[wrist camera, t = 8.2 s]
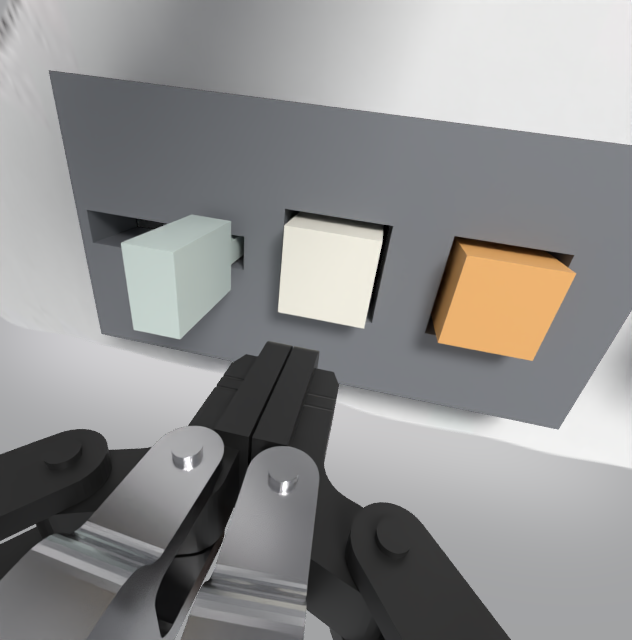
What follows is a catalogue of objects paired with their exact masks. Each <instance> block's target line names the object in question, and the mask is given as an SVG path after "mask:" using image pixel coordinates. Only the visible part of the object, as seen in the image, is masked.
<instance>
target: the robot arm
mask: <svg viewBox="0 0 632 640" xmlns="http://www.w3.org/2000/svg"><path fill="white" fill-rule="evenodd" d="M318 361H319V351H317V350H312V349H307V348H302V347H297V346H294V347H293V346H292V345H287V344H282V343H277V342H272V341H267V342H266V344H265V346H264V347H263V349H262V351H261V352H260V354H259V356H253V355H248V354H246V355H244V356H242V357H241V358H239V359H238V360H236V361H234V362H233V363H232V364H231V365H230V367H229V368H228V369H227V371H226V372H225V374H224V376H223V377H222V378H221V380H220V381H219V382H218V384H217V387H215V388H214V389H213V391H212V392H211V394H210V395H209V397H208V398H207V399H206V401H205V402H204V404H203V405H202V407H201V408H200V409H199V411H198V412H197V414H196V415H195V417H194V418H193V420H192V421H191V422H190V424H189V425H188V426H186V427H181V428H178V429H175V430H173V431H171V432H169V433H167V434H165V435H164V436H163V437H161V438H160V439H159V440H158V441H157V442H156V443H155V444H154V445H153V447H150V448H141V449H121V450H108V446H107V442H106V439H105V438H104V437H103V436H102V435H101V434H100V433H98V432H96V431H92V430H86V429H76V430H69V431H65V432H61V433H59V434H56V435H53V436H50V437H47V438H44V439H42V440H39V441H36V442H33V443H31V444H28V445H25V446H22V447H20V448H17V449H14V450H11V451H9V452H6V453H4V454H0V541H1V540H3V539H5V538H7V537H9V536H11V535H13V534H16V533H17V532H19V531H22V530H24V529H26V528H28V527H30V526H32V525H34V524H36V526H37V527H35V528H33V529H31V530H29V531H27V532H25V533H23V534H21V535H19V536H17V537H15V538H13V539H10V540H8V541H6V542H4V543H2V544H0V640H175V638H176V636H177V634H178V632H179V630H180V627H181V625H182V623H183V621H184V619H185V617H186V615H187V613H188V611H189V609H190V607H191V605H192V603H193V601H194V599H195V597H196V595H197V593H198V591H199V593H198V595H197V597H196V599H195V602H194V604H193V607H192V609H191V612H190V615H189V617H188V621H187V623H186V626H185V629H184V632H183V635H182V637H181V640H303V639H304V629H305V619H306V609H307V610H308V611H309V612H310V613H312V614H313V615H314V616H316V617H317V618H318V619H320V620H321V621H322V622H323V623H325V624H326V625H327V626H329V627H330V632H331V635H332V638H333V640H511V639H510V638H509V637H508V636H507V634H506V633H505V632H504V630H503V629H502V628H501V626H500V625H499V624H498V622H497V621H496V620H495V618H494V617H493V616H492V615H491V613H490V612H489V611H488V609H487V608H486V607H485V605H484V604H483V603H482V601H481V600H480V599H479V597H478V596H477V595H476V594H475V592H474V591H473V590H472V588H471V587H470V586H469V584H468V583H467V582H466V580H465V579H464V578H463V577H462V575H461V574H460V573H459V571H458V570H457V569H456V567H455V566H454V565H453V563H452V562H451V561H450V560H449V558H448V557H447V556H446V554H445V553H444V552H443V550H442V549H441V548H440V547H439V545H438V544H437V543H436V541H435V540H434V539H433V537H432V536H431V535H430V533H429V532H428V531H427V530H426V528H425V527H424V525H423V524H422V523H421V522H420V521H419V520H418V519H417V518H416V517H415V516H414V515H413V514H412V513H410V512H409V511H407V510H406V509H404V508H402V507H400V506H397V505H395V504H391V503H381V502H380V503H373V504H371V505H368V506H366V507H364V508H363V507H361V506H360V505H358V504H356V503H355V502H353V501H351V500H350V499H348V498H346V497H345V496H343V495H342V494H341V493H340V492H338V491H337V490H336V489H335V488H334V486H333V485H332V484H331V482H330V481H329V479H328V477H327V475H326V472H325V469H324V460H325V455H326V450H327V445H328V440H329V435H330V430H331V425H332V420H333V414H334V408H335V404H336V398H337V393H338V387H339V384H338V381H337V379H336V376H335V374H334V372H332V371H327V370H322V369H317V368H318ZM233 508H235V509H234V511H233ZM232 511H233V514H232V517H231V521H230V523H229V527H228V529H227V533H226V535H225V539H224V542H223V538H224V533H225V527H226V525H227V522H228V520H229V518H230V515H231V513H232ZM222 542H223V545H222V547H221V551H220V553H219V556H218V559H217V562H216V565H215V568H214V571H213V573H212V576H211V578H210V579H209V580H208V581H206V582H205V583H204V584H203V585H202V583H203V581H204V579H205V577H206V575H207V573H208V571H209V569H210V567H211V565H212V563H213V561H214V559H215V556H216V555H217V553H218V550H219V548H220V546H221V544H222ZM201 585H202V587H201ZM200 587H201V589H200ZM199 589H200V590H199Z"/></svg>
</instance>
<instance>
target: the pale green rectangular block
mask: <svg viewBox="0 0 632 640" xmlns="http://www.w3.org/2000/svg"><path fill="white" fill-rule="evenodd" d="M121 248H122V255H123V262H124V268H125V275H126V282H127V289H128V295H129V302H130V309H131V315H132V322H133V329H134V330H137V331H142V332H147V333H152V334H156V335H161V336H166V337H171V338H176V339H181V338H182V337H183V336H184V335H185V334H186V333H187V332H188V331H189V330H190V329H191V328H192V327H193V326H194V325H195V324H196V323H197V322H198V321H200V320H201V319H202V318H203V317H204V316H205V315H206V314H207V313H208V312H209V311H210V310H211V309H212V308H213V307H214V306H215V305H216V304H217V303H218V302H219V301H220V300H221V299H222V298H223V297H224V296H225V295H226V294H227V293H228V292H229V291H230V290H231V264H232V263H234V262H235V261H236V260H237V259H239V258H240V257H241V256H242V255H243V254H244V237H243V236H237V235H231V221H228V220H222V219H216V218H210V217H204V216H198V215H189V216H187V217H184V218H182V219H179V220H177V221H174V222H172V223H169V224H167V225H164V226H161V227H159V228H156V229H154V230H151V231H149V232H146V233H144V234H141V235H139V236H136V237H134V238H131V239H129V240H126V241H124V242H121Z"/></svg>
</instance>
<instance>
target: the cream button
mask: <svg viewBox="0 0 632 640" xmlns="http://www.w3.org/2000/svg"><path fill="white" fill-rule="evenodd" d="M382 241H383V224H377V223H371V222H365V221H358V220H352V219H346V218H340V217H334V216H327V215H321V214H315V213H309V212H302V211H300V212H299V213H298V214H297V215H296V216H295V217H293V218H292V219H291V220H290V221H289V222H288V223H286V224H285V225H284V237H283V250H282V264H281V277H280V290H279V304H278V312H280V313H285V314H290V315H296V316H301V317H306V318H311V319H316V320H322V321H327V322H332V323H337V324H342V325H348V326H353V327H358V328H363V329H364V326H365V322H366V317H367V312H368V308H369V303H370V298H371V293H372V289H373V284H374V279H375V275H376V270H377V265H378V260H379V256H380V251H381V246H382Z"/></svg>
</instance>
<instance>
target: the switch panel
mask: <svg viewBox="0 0 632 640" xmlns="http://www.w3.org/2000/svg"><path fill="white" fill-rule="evenodd" d="M49 74H50V79H51V84H52V89H53V94H54V99H55V104H56V109H57V114H58V119H59V124H60V129H61V134H62V139H63V144H64V149H65V154H66V159H67V164H68V169H69V174H70V179H71V184H72V189H73V194H74V199H75V204H76V208H77V213H78V218H79V223H80V228H81V233H82V238H83V243H84V248H85V253H86V258H87V263H88V268H89V273H90V278H91V283H92V288H93V293H94V298H95V303H96V308H97V313H98V318H99V323H100V328H101V333H102V334H105V335H110V336H114V337H119V338H124V339H129V340H133V341H138V342H143V343H148V344H153V345H157V346H162V347H167V348H172V349H176V350H181V351H186V352H191V353H196V354H200V355H205V356H210V357H215V358H219V359H224V360H229V361H236V360H238V359H239V358H241V357H242V356H244V355H246V354H248V355H253V356H259V354H260V352H261V351H262V349H263V347H264V346H265V344H266V342H267V341H272V342H277V343H282V344H287V345H292V346H293V347H294V346H297V347H302V348H307V349H312V350H317V351H319V361H318V368H317V369H322V370H327V371H332V372H334V374H335V376H336V379H337V381H338V383H339V384H344V385H348V386H353V387H358V388H363V389H367V390H372V391H377V392H382V393H387V394H391V395H396V396H401V397H406V398H410V399H415V400H420V401H425V402H430V403H434V404H439V405H444V406H449V407H453V408H458V409H463V410H468V411H473V412H477V413H482V414H487V415H492V416H496V417H501V418H506V419H511V420H515V421H520V422H525V423H530V424H535V425H539V426H544V427H549V428H554V429H559V428H560V426H561V424H562V423H563V421H564V420H565V418H566V416H567V415H568V413H569V411H570V410H571V408H572V407H573V405H574V403H575V402H576V400H577V398H578V397H579V395H580V394H581V392H582V390H583V389H584V387H585V385H586V384H587V382H588V380H589V379H590V377H591V376H592V374H593V372H594V371H595V369H596V367H597V366H598V364H599V363H600V361H601V359H602V358H603V356H604V354H605V353H606V351H607V350H608V348H609V346H610V345H611V343H612V341H613V340H614V338H615V336H616V335H617V333H618V332H619V330H620V328H621V327H622V325H623V323H624V322H625V320H626V319H627V317H628V315H629V314H630V312H631V310H632V145H625V144H617V143H610V142H602V141H594V140H586V139H578V138H571V137H563V136H555V135H547V134H540V133H532V132H524V131H516V130H508V129H501V128H493V127H485V126H477V125H470V124H462V123H454V122H446V121H439V120H431V119H423V118H415V117H407V116H400V115H392V114H384V113H376V112H369V111H361V110H353V109H345V108H337V107H330V106H322V105H314V104H306V103H299V102H291V101H283V100H275V99H267V98H260V97H252V96H244V95H236V94H229V93H221V92H213V91H205V90H197V89H190V88H182V87H174V86H166V85H159V84H151V83H143V82H135V81H127V80H120V79H112V78H104V77H96V76H89V75H81V74H73V73H65V72H57V71H50V70H49ZM300 211H302V212H309V213H315V214H321V215H327V216H334V217H340V218H346V219H352V220H358V221H365V222H371V223H377V224H383V225H389V228H388V233H387V238H386V242H385V247H384V252H383V256H382V261H381V265H380V270H379V275H378V279H377V284H376V289H375V293H374V294H371V298H370V303H369V308H368V312H367V317H366V322H365V326H364V329H363V328H358V327H353V326H348V325H342V324H337V323H332V322H327V321H322V320H316V319H311V318H306V317H301V316H296V315H290V314H285V313H280V312H278V304H279V290H280V277H281V264H282V250H283V237H284V225H285V224H286V223H288V222H289V221H290V220H291V219H292V218H293V217H295V216H296V215H297V214H298V213H299V212H300ZM189 215H198V216H204V217H210V218H216V219H222V220H228V221H231V235H237V236H243V237H244V254H243V255H242V256H241V257H240V258H239V259H237V260H236V261H235V262H234V263H232V264H231V290H230V291H229V292H228V293H227V294H226V295H225V296H224V297H223V298H222V299H221V300H220V301H219V302H218V303H217V304H216V305H215V306H214V307H213V308H212V309H211V310H210V311H209V312H208V313H207V314H206V315H205V316H204V317H203V318H202V319H201V320H200V321H198V322H197V323H196V324H195V325H194V326H193V327H192V328H191V329H190V330H189V331H188V332H187V333H186V334H185V335H184V336H183V337H182V338H181V339H176V338H171V337H166V336H161V335H156V334H152V333H147V332H142V331H137V330H134V329H133V322H132V315H131V309H130V302H129V295H128V289H127V282H126V275H125V268H124V262H123V255H122V248H121V242H124V241H126V240H129V239H131V238H134V237H136V236H139V235H141V234H144V233H146V232H149V231H151V230H154V229H148V228H142V227H137V221H136V218H138V219H144V220H149V221H155V222H161V223H167V224H169V223H172V222H174V221H177V220H179V219H182V218H184V217H187V216H189ZM454 236H458V237H464V238H470V239H477V240H483V241H489V242H495V243H501V244H508V245H514V246H520V247H526V248H533V249H539V250H545V251H546V252H547V253H549V254H550V255H552V256H553V257H554V258H556V259H557V260H558V261H560V262H561V263H563V264H564V265H565V266H567V267H568V268H569V269H571V270H572V271H573V272H575V273H576V275H575V277H574V279H573V281H572V283H571V285H570V287H569V289H568V291H567V293H566V295H565V297H564V299H563V301H562V303H561V305H560V307H559V309H558V311H557V313H556V315H555V317H554V319H553V321H552V323H551V325H550V327H549V329H548V331H547V333H546V335H545V337H544V339H543V341H542V343H541V345H540V347H539V349H538V351H537V353H536V355H535V357H534V359H533V361H530V360H525V359H520V358H514V357H509V356H504V355H499V354H494V353H488V352H483V351H478V350H473V349H468V348H462V347H457V346H452V345H447V344H441V343H438V341H437V337H436V333H435V329H434V325H433V320H432V316H431V311H432V307H433V304H434V301H435V298H436V295H437V291H438V288H439V285H440V282H441V278H442V275H443V272H444V269H445V265H446V262H447V259H448V256H449V252H450V249H451V246H452V243H453V240H454Z"/></svg>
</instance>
